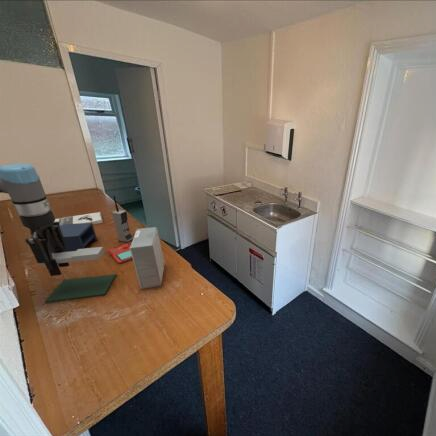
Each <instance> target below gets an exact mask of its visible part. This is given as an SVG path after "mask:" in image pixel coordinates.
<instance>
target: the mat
mask: <svg viewBox="0 0 436 436" xmlns="http://www.w3.org/2000/svg"><path fill="white" fill-rule="evenodd" d="M117 276H118V275H117V273H113V274H112V273H111V274H103V275H94V276H86V277H85V276H83V277H76V278H68V279H67V278H66V279H63V280H62V281H61V282H60V284H58V286H57V287H56V288H55V289H54V290H53V292H51V294H50V295H49V297H47V298H46V300H45V301H44V302H45V304H48V303H49V304H50V303H56V302H65V301H72V300H79V299H87V298H88V299H89V298H93V297H102V296H106V295H107V293H108V291H109V290H110V288H111V286H112V284H113V283H114V281H115V279H116V278H117Z"/></svg>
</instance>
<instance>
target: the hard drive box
mask: <svg viewBox="0 0 436 436" xmlns="http://www.w3.org/2000/svg"><path fill="white" fill-rule="evenodd" d="M161 244H162V243H161V241H160V235H159V230H158V227H157V226H153V227H143V228H136V230H135V233H134V236H133V239H132V240H131V244H130V251H131V255H132V262H133V265H134V269H135V273H136V277H137V280H138V284H139V289H140V290H145V289H152V288H156V287H161V286H162V284H163V276H164V271H165V265H166V263H165V258H164V254H163V250H162V245H161Z"/></svg>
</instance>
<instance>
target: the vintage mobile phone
mask: <svg viewBox="0 0 436 436" xmlns="http://www.w3.org/2000/svg"><path fill="white" fill-rule="evenodd" d="M112 198H113V201H114V206H115V210H113V211H112V212H111V216H112V219H113V224H114V226H115V230H116V234H117V238H118V241H119V242H123V243H128V242H129V243H130V242H131V241H133V238H134V236H133V235H132V234H131V231H130V227H129V223H128V214H127V213H128V212H127V210H124V209H123V210H122V209H119V206H118V203H117V200H116V195H113V197H112Z"/></svg>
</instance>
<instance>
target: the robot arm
mask: <svg viewBox="0 0 436 436" xmlns="http://www.w3.org/2000/svg"><path fill="white" fill-rule="evenodd" d="M0 194H8V197H9V198H10V200H11V202H12V204H13V206H14V209H15V211H16V213H17V215H18V216H19V220H20V221H21V224H22V226H23V227H24V228H27V229H29V231H30V237H29V238H25V240H24V241H25V242H26V244H27V245H28V246H29V248H30V250H31V252H32V254H33V256H34V258H35V261H37V262H38V263H45V265H44V266H45V267H46V269H47V270H48V271H47V272H48V273H49V275H50V277H55V276H61V275H62V272H61V269H60V268H65V267H70V262H66V263H57V262H56V260H55V259H53V257H52V252H51V248H50V245H51V246H52V248H53V249H54V250H55V252H53V253H60V252H64V250H66V249H67V247H64V246H66V242H65V240H64V237H63V234H62V232H61V229H60V224H59V222H54V221H55V219H56V217H55V215H54V212H53V210H51V209H52V207H51V206H50V205H51V204H50V202H49V201H48V198H47V195H46V192H45V189H44V187H43V184H42V181H41V179H40V175H39V174H38V172H37V171H36V167H34V166H33V165H32V164H30V163H11V164H4V165H1V166H0ZM49 243H50V244H49ZM37 262H36V263H37Z"/></svg>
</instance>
